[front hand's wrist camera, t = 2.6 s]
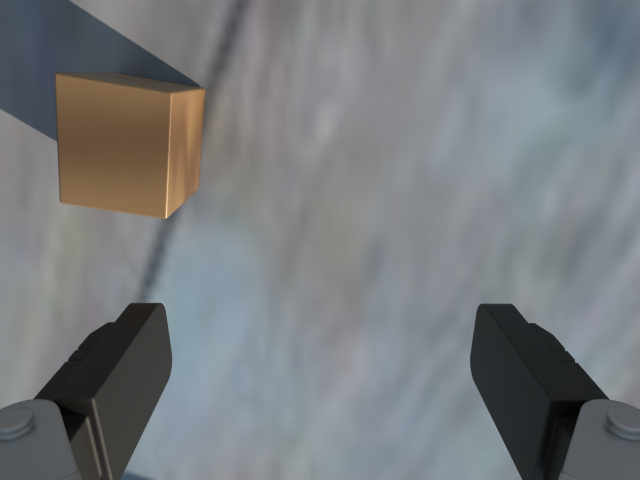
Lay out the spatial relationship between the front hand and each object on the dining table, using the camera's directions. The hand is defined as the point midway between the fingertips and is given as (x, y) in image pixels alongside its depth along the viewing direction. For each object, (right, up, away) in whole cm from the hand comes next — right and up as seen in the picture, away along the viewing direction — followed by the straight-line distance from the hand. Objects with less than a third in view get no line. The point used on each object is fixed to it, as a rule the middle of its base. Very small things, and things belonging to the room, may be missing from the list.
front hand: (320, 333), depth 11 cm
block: (-8, +7, +9) cm, 14 cm away
